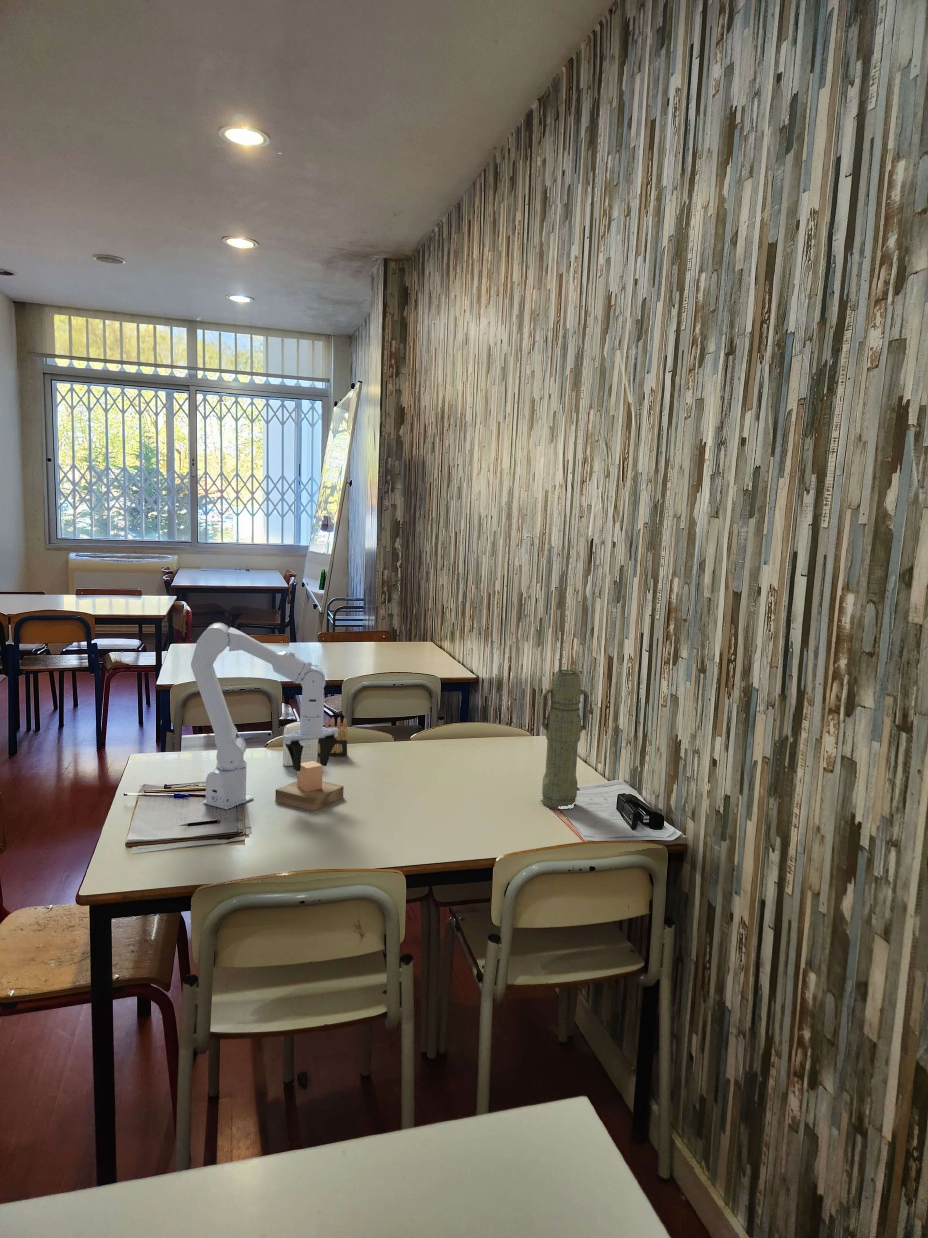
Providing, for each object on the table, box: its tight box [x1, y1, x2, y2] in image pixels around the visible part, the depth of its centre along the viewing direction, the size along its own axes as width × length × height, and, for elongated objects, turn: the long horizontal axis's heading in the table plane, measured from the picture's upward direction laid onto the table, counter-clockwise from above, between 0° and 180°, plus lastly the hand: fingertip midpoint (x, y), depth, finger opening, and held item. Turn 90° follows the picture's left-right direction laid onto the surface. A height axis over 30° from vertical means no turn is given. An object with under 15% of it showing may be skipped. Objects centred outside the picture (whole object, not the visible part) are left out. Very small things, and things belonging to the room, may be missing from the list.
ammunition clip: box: [317, 716, 348, 758], centre depth 237 cm, size 11×2×12 cm, turn 101°
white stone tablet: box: [282, 721, 319, 767], centre depth 228 cm, size 10×4×12 cm, turn 123°
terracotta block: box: [296, 761, 324, 792], centre depth 199 cm, size 4×4×6 cm
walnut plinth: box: [274, 780, 344, 812], centre depth 199 cm, size 12×12×3 cm
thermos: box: [540, 669, 590, 810], centre depth 203 cm, size 9×12×35 cm
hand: (310, 767), depth 198 cm, fingers open, 7 cm apart
